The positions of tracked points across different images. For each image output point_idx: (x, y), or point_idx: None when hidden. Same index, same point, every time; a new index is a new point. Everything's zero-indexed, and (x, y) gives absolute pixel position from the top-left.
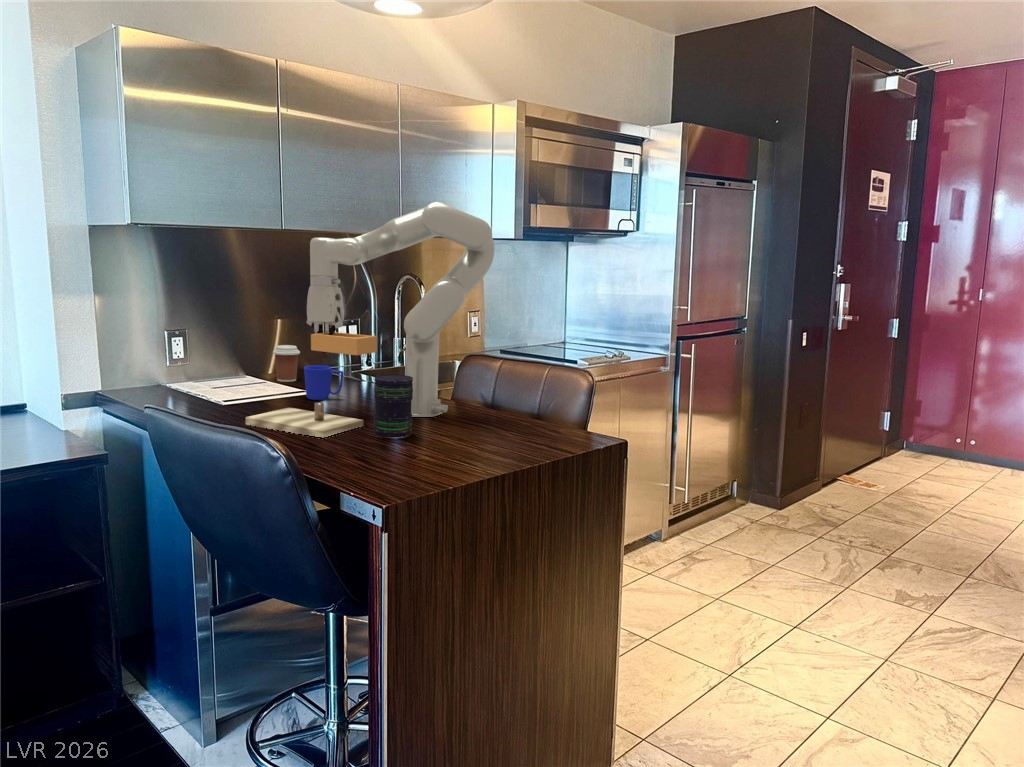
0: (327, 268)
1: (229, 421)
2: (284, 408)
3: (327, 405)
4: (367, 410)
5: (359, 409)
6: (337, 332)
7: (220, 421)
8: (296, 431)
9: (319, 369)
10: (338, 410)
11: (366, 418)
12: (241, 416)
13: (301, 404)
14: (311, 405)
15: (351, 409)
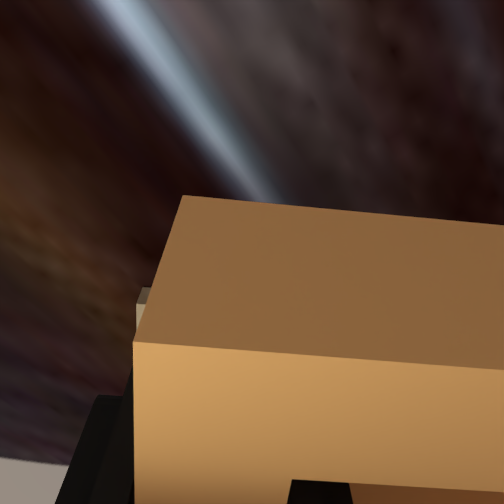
0: None
1: (64, 449)
2: (137, 326)
3: (144, 8)
4: (417, 3)
5: (364, 4)
6: (331, 380)
7: (43, 460)
8: None
9: None
10: (276, 96)
11: (483, 180)
12: (29, 389)
13: (12, 70)
14: (74, 62)
15: (323, 31)
